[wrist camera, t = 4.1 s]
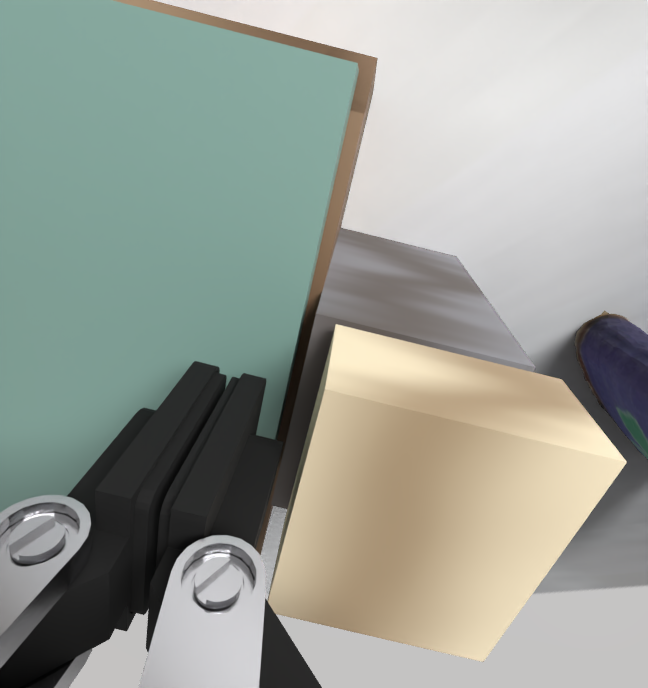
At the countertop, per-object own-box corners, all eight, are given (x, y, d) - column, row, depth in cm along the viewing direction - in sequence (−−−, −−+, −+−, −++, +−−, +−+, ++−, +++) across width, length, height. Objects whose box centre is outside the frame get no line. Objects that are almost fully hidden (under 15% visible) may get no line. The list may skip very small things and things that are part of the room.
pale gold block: (561, 379, 9) (627, 462, 7) (461, 558, 12) (483, 661, 10) (335, 323, 9) (324, 388, 7) (285, 517, 12) (265, 611, 10)
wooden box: (505, 125, 16) (666, 117, 7) (382, 454, 23) (391, 643, 14) (-117, -33, 15) (-716, -238, 7) (-43, 352, 23) (-292, 485, 14)
